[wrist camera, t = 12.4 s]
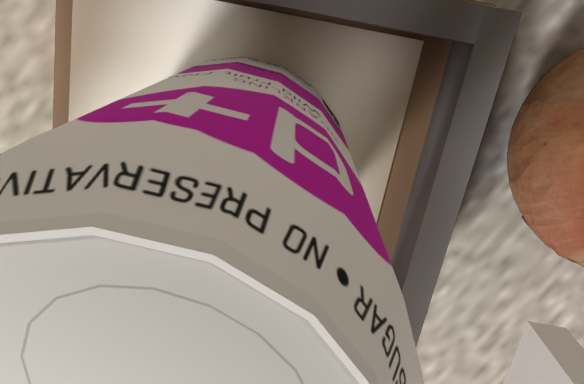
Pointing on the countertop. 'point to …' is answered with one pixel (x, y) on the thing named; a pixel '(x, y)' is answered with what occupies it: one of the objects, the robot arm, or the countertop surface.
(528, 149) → the onion
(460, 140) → the wooden tray
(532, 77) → the countertop surface
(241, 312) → the supplement can
